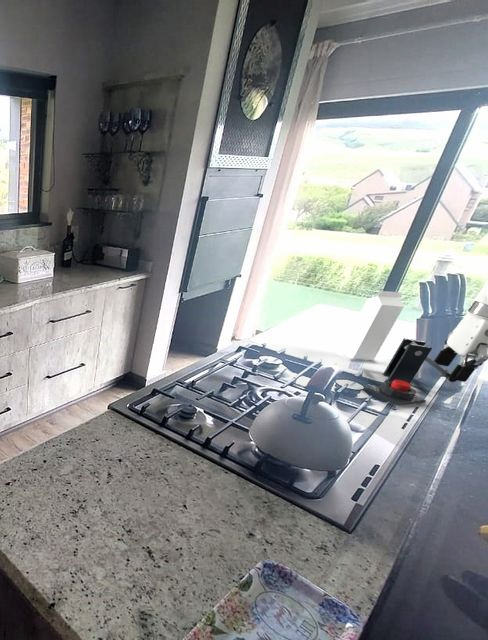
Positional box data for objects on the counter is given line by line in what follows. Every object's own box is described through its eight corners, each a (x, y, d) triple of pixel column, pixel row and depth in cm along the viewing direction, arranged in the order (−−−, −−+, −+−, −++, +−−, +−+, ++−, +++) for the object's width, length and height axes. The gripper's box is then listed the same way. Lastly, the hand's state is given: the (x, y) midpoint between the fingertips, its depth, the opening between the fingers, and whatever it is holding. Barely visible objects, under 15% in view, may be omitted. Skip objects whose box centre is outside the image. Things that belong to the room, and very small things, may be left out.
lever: (441, 376, 110) (452, 370, 109) (450, 384, 106) (461, 378, 105) (401, 345, 111) (411, 339, 110) (408, 352, 107) (418, 346, 106)
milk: (371, 364, 125) (411, 296, 114) (350, 362, 125) (387, 294, 114) (358, 355, 130) (394, 289, 119) (338, 354, 131) (372, 287, 120)
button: (396, 384, 106) (400, 379, 105) (411, 391, 103) (414, 385, 102) (386, 385, 105) (390, 380, 104) (400, 392, 102) (404, 386, 101)
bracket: (411, 382, 115) (437, 341, 109) (424, 396, 108) (452, 354, 102) (364, 372, 119) (386, 333, 113) (373, 386, 112) (397, 344, 106)
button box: (388, 391, 110) (396, 378, 108) (421, 407, 103) (430, 394, 101) (362, 393, 108) (370, 381, 106) (394, 410, 102) (403, 397, 100)
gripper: (534, 326, 91) (483, 390, 99) (493, 304, 104) (452, 362, 113) (489, 319, 93) (443, 382, 102) (455, 298, 107) (417, 356, 116)
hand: (448, 372), depth 107 cm, fingers open, 9 cm apart
